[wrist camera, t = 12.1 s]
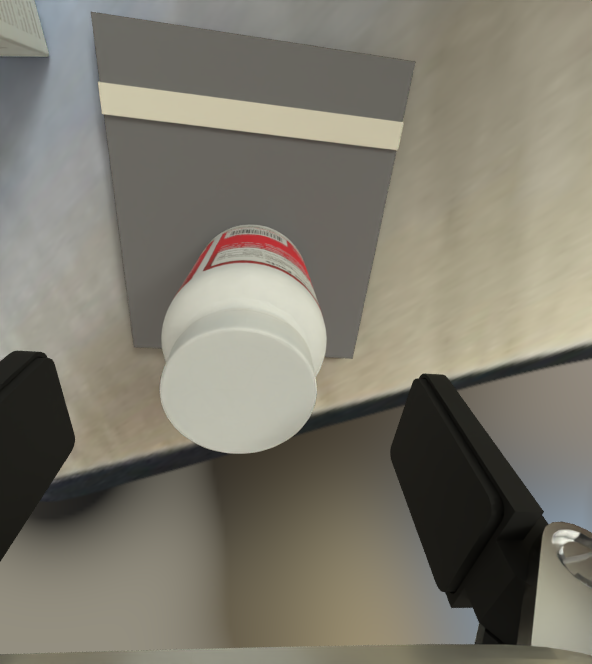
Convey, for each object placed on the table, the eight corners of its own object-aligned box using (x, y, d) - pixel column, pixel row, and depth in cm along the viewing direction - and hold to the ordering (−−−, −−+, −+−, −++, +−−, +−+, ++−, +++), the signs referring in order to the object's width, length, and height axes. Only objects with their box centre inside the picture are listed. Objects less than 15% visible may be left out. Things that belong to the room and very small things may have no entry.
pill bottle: (237, 340, 22) (212, 494, 12) (176, 257, 19) (80, 370, 9) (324, 294, 21) (374, 423, 11) (273, 199, 18) (278, 259, 8)
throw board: (101, 19, 15) (88, 9, 14) (407, 66, 17) (417, 60, 16) (139, 339, 22) (132, 348, 21) (349, 350, 24) (353, 360, 23)
